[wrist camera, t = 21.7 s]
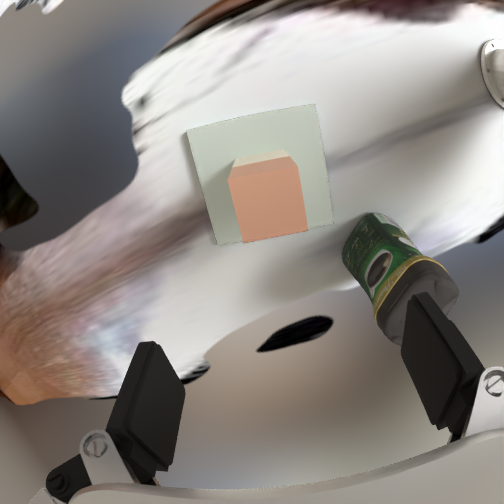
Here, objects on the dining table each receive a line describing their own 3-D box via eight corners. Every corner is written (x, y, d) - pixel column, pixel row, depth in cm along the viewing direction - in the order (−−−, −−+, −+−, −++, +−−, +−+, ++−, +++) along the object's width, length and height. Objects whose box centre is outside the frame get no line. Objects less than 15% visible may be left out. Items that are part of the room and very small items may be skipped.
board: (313, 104, 33) (315, 104, 32) (331, 220, 40) (333, 223, 39) (188, 130, 35) (186, 130, 34) (218, 242, 42) (217, 245, 41)
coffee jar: (373, 277, 44) (421, 361, 28) (332, 259, 43) (373, 347, 26) (406, 226, 40) (476, 294, 24) (366, 202, 39) (433, 268, 22)
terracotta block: (289, 156, 29) (297, 165, 24) (299, 209, 32) (308, 230, 27) (232, 167, 30) (227, 180, 25) (245, 220, 33) (243, 243, 27)
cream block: (283, 148, 35) (289, 155, 29) (292, 194, 37) (299, 209, 32) (235, 158, 35) (232, 167, 30) (246, 203, 38) (245, 220, 33)
